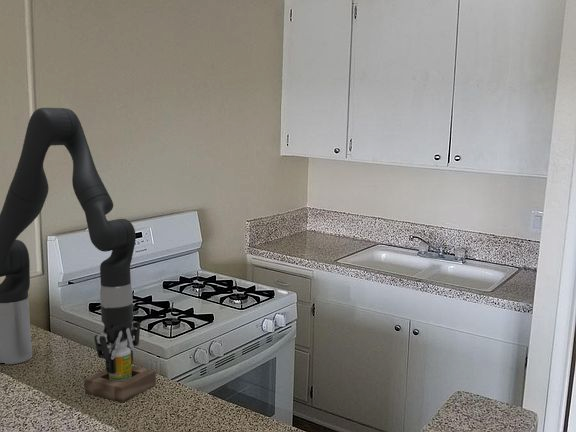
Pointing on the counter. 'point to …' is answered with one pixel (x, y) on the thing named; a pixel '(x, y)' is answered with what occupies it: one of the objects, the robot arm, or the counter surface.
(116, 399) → the socket block
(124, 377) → the supplement bottle
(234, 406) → the counter surface
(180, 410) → the counter surface
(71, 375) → the counter surface
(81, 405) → the counter surface
